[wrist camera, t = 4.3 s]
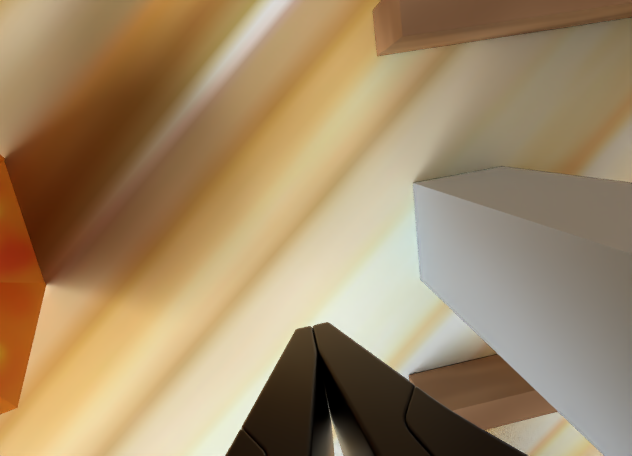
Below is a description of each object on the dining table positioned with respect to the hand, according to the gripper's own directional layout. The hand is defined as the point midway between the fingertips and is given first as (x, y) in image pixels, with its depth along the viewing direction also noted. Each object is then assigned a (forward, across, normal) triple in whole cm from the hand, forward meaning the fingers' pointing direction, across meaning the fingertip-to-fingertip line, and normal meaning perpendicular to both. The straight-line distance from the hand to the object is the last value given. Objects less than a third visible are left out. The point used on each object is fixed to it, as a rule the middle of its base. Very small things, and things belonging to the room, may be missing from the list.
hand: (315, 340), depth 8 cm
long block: (+6, -7, 0) cm, 9 cm away
